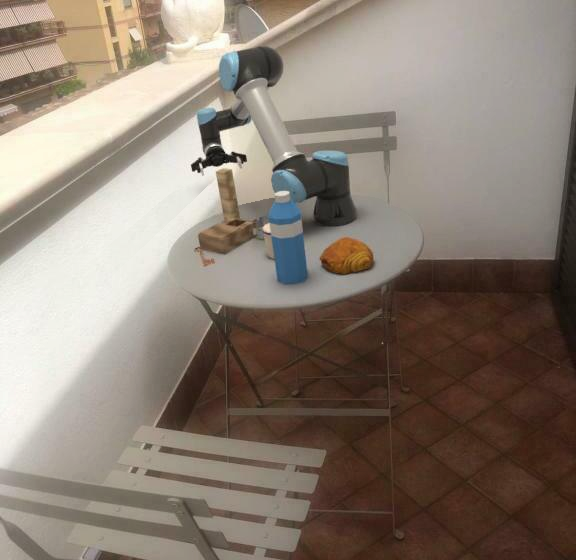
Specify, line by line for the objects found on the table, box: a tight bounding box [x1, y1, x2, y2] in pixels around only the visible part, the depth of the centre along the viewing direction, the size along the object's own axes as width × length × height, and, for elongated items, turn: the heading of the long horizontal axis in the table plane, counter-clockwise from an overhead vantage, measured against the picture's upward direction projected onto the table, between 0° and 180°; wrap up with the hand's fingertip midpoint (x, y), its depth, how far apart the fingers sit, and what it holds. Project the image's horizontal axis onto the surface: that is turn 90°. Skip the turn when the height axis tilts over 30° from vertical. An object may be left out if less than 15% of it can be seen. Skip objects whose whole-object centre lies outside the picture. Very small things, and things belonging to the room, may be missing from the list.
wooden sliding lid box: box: [197, 217, 257, 255], centre depth 190 cm, size 16×11×5 cm
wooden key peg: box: [215, 167, 241, 221], centre depth 201 cm, size 4×4×20 cm
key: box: [193, 246, 216, 267], centre depth 184 cm, size 6×1×15 cm
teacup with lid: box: [262, 222, 275, 260], centre depth 177 cm, size 12×9×12 cm
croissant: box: [318, 236, 374, 275], centre depth 166 cm, size 14×16×8 cm
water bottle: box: [268, 191, 309, 285], centre depth 158 cm, size 9×9×25 cm
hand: (221, 168), depth 201 cm, fingers open, 13 cm apart
